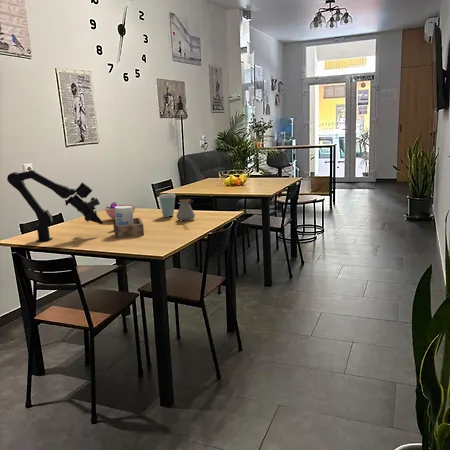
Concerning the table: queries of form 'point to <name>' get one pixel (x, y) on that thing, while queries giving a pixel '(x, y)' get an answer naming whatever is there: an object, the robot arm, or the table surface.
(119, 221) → the supplement tub
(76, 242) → the table surface
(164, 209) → the disposable coffee cup
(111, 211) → the cell model
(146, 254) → the table surface
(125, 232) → the walnut crate
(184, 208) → the coffee pot
